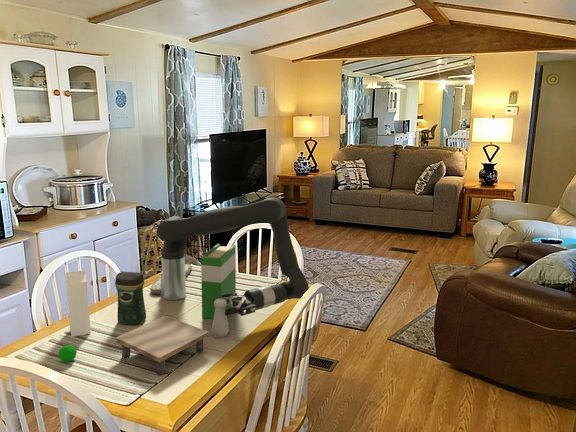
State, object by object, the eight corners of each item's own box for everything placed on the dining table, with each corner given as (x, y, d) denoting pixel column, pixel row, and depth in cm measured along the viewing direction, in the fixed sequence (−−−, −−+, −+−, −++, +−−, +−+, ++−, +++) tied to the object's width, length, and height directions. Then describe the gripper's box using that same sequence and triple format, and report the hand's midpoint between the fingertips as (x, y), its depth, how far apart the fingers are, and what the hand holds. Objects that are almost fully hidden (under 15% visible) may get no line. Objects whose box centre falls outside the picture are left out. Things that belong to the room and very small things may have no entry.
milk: (90, 333, 161) (86, 272, 156) (71, 337, 158) (66, 275, 153) (88, 326, 166) (84, 267, 161) (69, 329, 163) (64, 269, 158)
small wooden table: (116, 356, 146) (115, 337, 145) (166, 332, 163) (165, 315, 161) (160, 378, 136) (159, 357, 134) (208, 350, 152) (208, 331, 150)
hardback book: (218, 300, 191) (217, 243, 186) (235, 302, 190) (235, 245, 184) (202, 318, 174) (201, 257, 169) (221, 321, 173) (220, 258, 167)
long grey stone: (197, 272, 227) (177, 271, 229) (196, 261, 226) (177, 261, 228) (167, 296, 193) (144, 295, 195) (166, 283, 192) (143, 283, 194)
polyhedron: (68, 354, 147) (67, 340, 146) (80, 358, 145) (79, 344, 144) (55, 362, 142) (54, 348, 141) (67, 366, 141) (66, 351, 140)
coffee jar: (149, 317, 174) (147, 269, 170) (140, 326, 167) (137, 277, 162) (124, 315, 175) (121, 268, 171) (114, 324, 168) (111, 275, 164)
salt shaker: (225, 340, 159) (225, 304, 156) (209, 338, 160) (209, 302, 157) (231, 332, 164) (231, 297, 161) (215, 330, 165) (215, 295, 162)
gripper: (249, 282, 174) (209, 291, 164) (270, 295, 163) (229, 305, 153) (249, 301, 175) (209, 311, 166) (270, 315, 164) (229, 326, 155)
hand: (219, 308), depth 160 cm, fingers open, 8 cm apart
